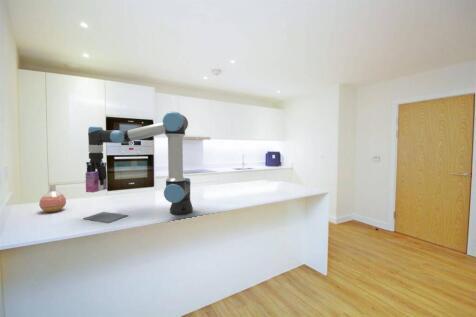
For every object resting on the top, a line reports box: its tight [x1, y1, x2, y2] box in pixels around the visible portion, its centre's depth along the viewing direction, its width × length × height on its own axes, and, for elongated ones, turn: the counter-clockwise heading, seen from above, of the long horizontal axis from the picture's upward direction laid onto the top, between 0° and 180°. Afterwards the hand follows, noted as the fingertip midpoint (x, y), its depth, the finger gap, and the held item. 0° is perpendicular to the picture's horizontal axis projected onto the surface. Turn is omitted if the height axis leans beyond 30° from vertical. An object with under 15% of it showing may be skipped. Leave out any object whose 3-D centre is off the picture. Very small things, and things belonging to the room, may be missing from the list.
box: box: [85, 170, 108, 193], centre depth 138 cm, size 10×6×12 cm, turn 168°
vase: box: [39, 184, 67, 213], centre depth 149 cm, size 14×14×18 cm
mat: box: [82, 211, 129, 224], centre depth 138 cm, size 20×14×1 cm
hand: (96, 190), depth 139 cm, fingers closed on box, 6 cm apart
